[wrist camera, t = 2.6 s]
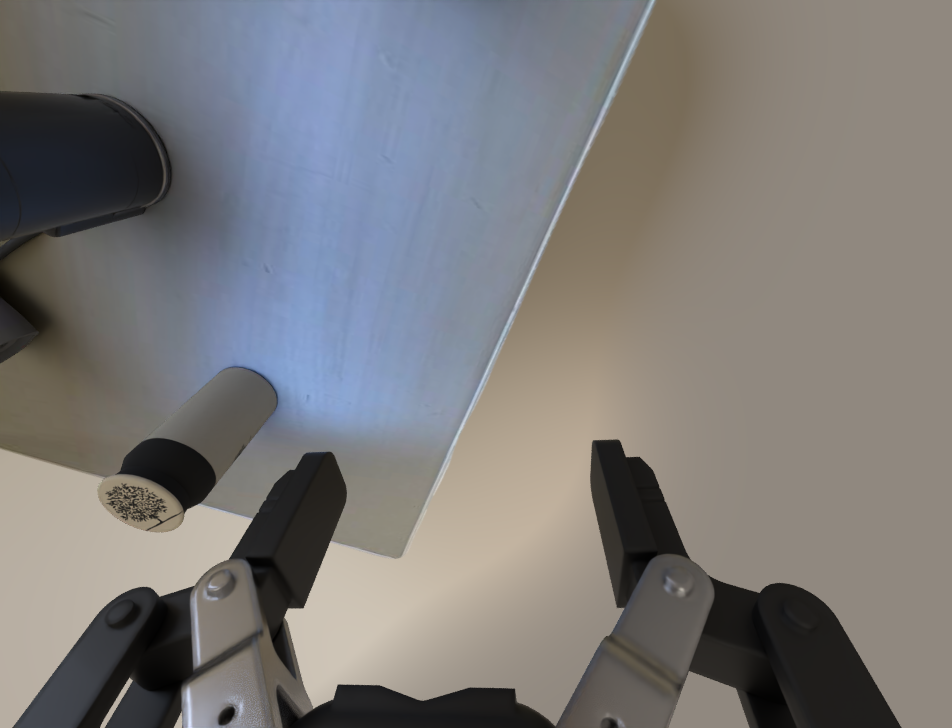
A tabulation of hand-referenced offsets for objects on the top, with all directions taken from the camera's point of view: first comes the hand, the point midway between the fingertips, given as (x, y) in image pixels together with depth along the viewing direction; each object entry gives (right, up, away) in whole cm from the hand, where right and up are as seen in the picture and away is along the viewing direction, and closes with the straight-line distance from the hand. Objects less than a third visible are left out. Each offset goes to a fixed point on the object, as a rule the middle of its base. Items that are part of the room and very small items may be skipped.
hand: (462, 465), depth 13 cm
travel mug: (-29, 0, +40) cm, 50 cm away
